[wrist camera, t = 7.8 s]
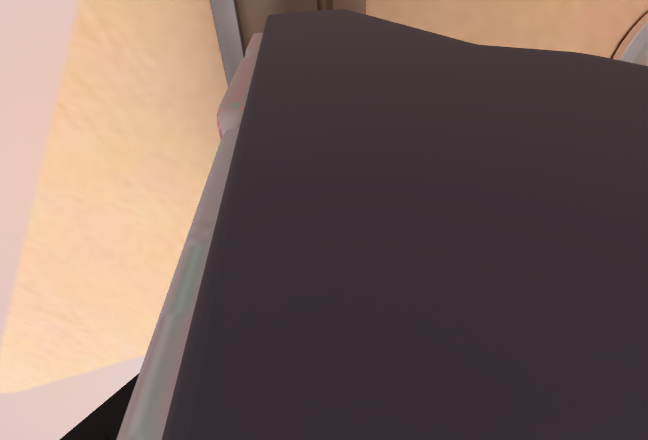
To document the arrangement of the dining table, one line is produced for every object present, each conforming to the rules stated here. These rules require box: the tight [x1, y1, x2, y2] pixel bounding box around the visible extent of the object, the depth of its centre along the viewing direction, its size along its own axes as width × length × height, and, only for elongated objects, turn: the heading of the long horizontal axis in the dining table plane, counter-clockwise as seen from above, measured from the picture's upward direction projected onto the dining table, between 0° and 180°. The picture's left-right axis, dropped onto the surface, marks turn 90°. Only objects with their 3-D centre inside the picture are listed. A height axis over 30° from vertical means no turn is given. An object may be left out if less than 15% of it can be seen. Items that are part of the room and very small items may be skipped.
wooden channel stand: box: [210, 0, 366, 87], centre depth 26 cm, size 10×24×8 cm, turn 3°
